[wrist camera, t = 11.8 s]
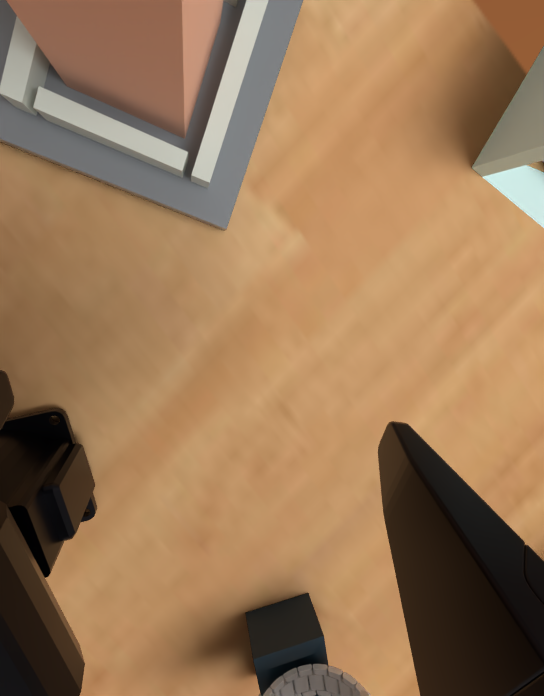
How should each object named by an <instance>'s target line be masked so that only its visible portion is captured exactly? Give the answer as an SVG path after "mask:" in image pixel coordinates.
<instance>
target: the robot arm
mask: <svg viewBox="0 0 544 696" xmlns="http://www.w3.org/2000/svg"><path fill="white" fill-rule="evenodd" d="M13 405H14V396H13V392H12V389H11V385H10V382H9V378H8V375H7V374H6V372H4V371H2V370H0V696H79V695H80V693H81V688H82V680H83V673H84V666H85V663H84V659H83V656H82V652H81V648H80V645H79V643H78V641H77V639H76V637H75V635H74V633H73V631H72V629H71V627H70V626H69V624H68V622H67V620H66V618H65V616H64V614H63V612H62V610H61V608H60V606H59V604H58V602H57V601H56V599H55V597H54V595H53V593H52V591H51V589H50V587H49V585H48V583H47V581H46V579H45V578H46V577H48V576H49V574H50V573H51V571H52V568H53V566H54V564H55V561H56V559H57V557H58V554H59V552H60V550H61V547H62V545H63V543H64V541H66V540H70V539H72V538H73V537H74V535H75V534H76V532H77V529H78V527H79V524H80V522H84V521H87V520H90V519H92V518H93V517H94V515H95V513H96V510H97V505H96V502H95V499H94V496H93V493H92V492H93V490H94V487H95V483H94V479H93V476H92V473H91V470H90V467H89V464H88V461H87V458H86V455H85V452H84V448H83V446H82V445H81V444H79V443H76V441H75V438H74V434H73V431H72V428H71V425H70V422H69V419H68V416H67V414H66V412H65V411H63V410H62V409H59V408H54V409H49V410H45V411H40V412H36V413H31V414H27V415H22V416H17V417H13V418H8V419H7V417H8V415H9V413H10V412H11V410H12V408H13ZM52 416H57V417H59V419H60V421H59V422H55V421H53V420H52ZM378 459H379V471H380V482H381V493H382V504H383V513H384V519H385V524H386V529H387V534H388V539H389V544H390V549H391V554H392V559H393V564H394V568H395V573H396V578H397V583H398V588H399V593H400V598H401V603H402V608H403V613H404V618H405V622H406V627H407V632H408V637H409V642H410V647H411V652H412V657H413V662H414V667H415V671H416V676H417V681H418V686H419V691H420V696H544V561H543V560H542V559H541V558H540V557H539V556H538V555H537V554H536V553H535V552H534V551H533V550H532V549H531V548H530V547H529V546H528V545H525V542H524V541H523V540H522V539H521V538H520V537H519V536H518V535H517V534H516V533H515V532H514V531H513V530H512V529H511V528H510V527H509V526H508V525H507V524H506V523H505V522H504V521H503V520H502V519H501V518H500V517H499V516H498V515H497V514H496V513H495V511H494V510H493V509H492V508H491V507H490V506H489V505H488V504H487V503H486V502H485V501H484V500H483V499H482V498H481V497H480V496H479V495H478V494H477V493H476V492H475V491H474V490H473V489H472V488H471V487H470V486H469V485H468V484H467V483H466V482H465V481H464V480H463V479H462V478H461V477H460V476H459V475H458V474H457V473H456V472H455V471H454V470H453V469H452V468H451V467H450V466H449V465H448V464H447V463H446V462H445V461H444V460H443V459H442V458H441V457H440V456H439V455H438V454H437V453H436V452H435V451H434V450H433V449H432V448H431V447H430V446H429V445H428V444H427V443H426V442H425V441H424V440H423V439H422V438H421V437H420V436H419V435H418V434H417V433H416V432H415V431H414V430H413V429H412V428H411V427H410V426H409V425H408V424H407V423H402V422H394V421H392V422H389V423H388V425H387V427H386V429H385V432H384V434H383V436H382V439H381V441H380V444H379V447H378ZM86 508H87V509H89V510H90V512H85V510H86Z"/></svg>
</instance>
